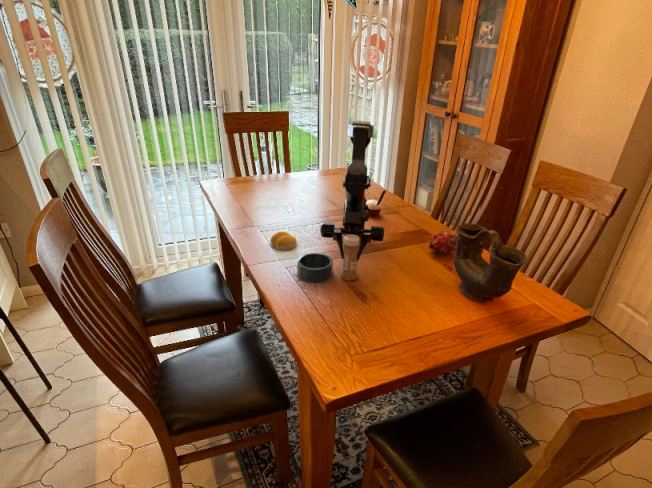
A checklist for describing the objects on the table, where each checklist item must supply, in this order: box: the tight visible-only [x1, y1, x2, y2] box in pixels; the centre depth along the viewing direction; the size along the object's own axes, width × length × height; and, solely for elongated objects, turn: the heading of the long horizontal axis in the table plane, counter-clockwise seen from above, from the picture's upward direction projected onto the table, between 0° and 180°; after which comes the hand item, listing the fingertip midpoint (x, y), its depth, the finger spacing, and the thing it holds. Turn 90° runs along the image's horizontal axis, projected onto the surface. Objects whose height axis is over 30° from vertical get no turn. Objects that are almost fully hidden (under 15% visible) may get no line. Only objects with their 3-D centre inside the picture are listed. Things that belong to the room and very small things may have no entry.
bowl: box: [296, 252, 334, 284], centre depth 129 cm, size 10×10×4 cm
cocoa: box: [366, 189, 387, 218], centre depth 170 cm, size 10×6×12 cm, turn 19°
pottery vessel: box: [452, 222, 528, 304], centre depth 120 cm, size 25×11×20 cm, turn 23°
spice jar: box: [341, 234, 360, 281], centre depth 126 cm, size 5×5×13 cm
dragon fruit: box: [428, 230, 457, 256], centre depth 145 cm, size 8×8×12 cm
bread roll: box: [270, 230, 298, 250], centre depth 145 cm, size 8×9×4 cm
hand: (350, 259), depth 124 cm, fingers closed on spice jar, 4 cm apart
